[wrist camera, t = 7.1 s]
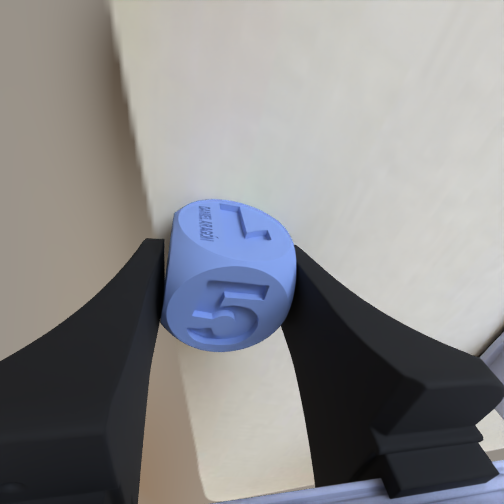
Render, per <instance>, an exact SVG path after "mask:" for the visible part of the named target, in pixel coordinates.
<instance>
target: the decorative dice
mask: <svg viewBox="0 0 504 504" xmlns="http://www.w3.org/2000/svg"><path fill="white" fill-rule="evenodd" d="M295 284H296V254H295V248H294V244H293V241H292V239H291V237H290V235H289V233H288V232H287V230H286V229H285V228H284V226H283V225H282V224H281V223H279V222H278V221H277V220H276V219H274V218H273V217H271V216H270V215H268V214H266V213H264V212H263V211H260V210H258V209H256V208H254V207H251V206H248V205H245V204H241V203H237V202H233V201H227V200H215V199H211V200H200V201H196V202H193V203H190V204H188V205H186V206H184V207H183V208H181V209H180V210H178V211H177V212H175V213H174V218H173V224H172V231H171V238H170V245H169V252H168V260H167V267H166V275H165V285H164V297H163V306H162V311H161V319H160V323H161V324H162V325H163V327H164V328H165V329H166V330H167V331H169V332H170V333H171V334H172V335H173V336H174V337H176V338H177V339H178V340H180V341H182V342H183V343H185V344H187V345H189V346H191V347H194V348H197V349H200V350H205V351H211V352H228V351H235V350H240V349H244V348H247V347H250V346H253V345H255V344H257V343H259V342H261V341H263V340H265V339H266V338H268V337H269V336H270V335H271V334H273V333H274V332H275V331H276V330H277V329H278V328H279V327H280V326H281V325H282V323H283V322H284V321H285V319H286V317H287V315H288V313H289V310H290V307H291V304H292V300H293V296H294V291H295Z"/></svg>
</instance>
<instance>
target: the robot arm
mask: <svg viewBox="0 0 504 504" xmlns="http://www.w3.org/2000/svg"><path fill="white" fill-rule="evenodd" d="M294 248H295V254H296V284H295V291H294V296H293V300H292V304H291V307H290V310H289V313H288V315H287V317H286V319H285V321H284V322H283V323H282V325H281V327H282V330H283V333H284V336H285V339H286V342H287V345H288V348H289V351H290V354H291V357H292V361H293V364H294V368H295V373H296V377H297V382H298V387H299V391H300V396H301V401H302V406H303V411H304V417H305V422H306V428H307V434H308V440H309V446H310V452H311V459H312V466H313V473H314V480H315V488H311V489H304V490H298V491H291V492H285V493H278V494H271V495H264V496H257V497H251V498H244V499H237V500H230V501H224V502H217V503H210V504H504V460H499V461H493V462H491V460H490V459H489V457H488V456H487V455H486V453H485V452H484V450H483V449H482V447H481V446H480V445H479V443H478V442H481V441H482V440H483V436H482V434H481V433H480V431H479V430H478V429H477V427H476V426H475V425H476V424H477V423H478V422H479V421H480V420H482V419H483V418H484V417H485V416H486V415H487V414H489V413H490V412H491V411H492V410H493V409H495V410H496V411H497V412H498V414H499V415H500V416H501V417H502V418H503V420H504V332H503V333H502V334H501V335H500V336H499V337H498V338H497V339H496V340H495V341H494V342H493V343H492V345H491V346H490V347H489V348H488V349H487V350H486V351H485V352H484V353H483V354H482V355H481V356H480V357H479V358H478V357H475V356H473V355H471V354H468V353H466V352H463V351H461V350H458V349H456V348H453V347H451V346H448V345H446V344H443V343H441V342H439V341H437V340H435V339H433V338H430V337H428V336H426V335H424V334H422V333H420V332H418V331H416V330H414V329H412V328H410V327H408V326H406V325H404V324H402V323H401V322H399V321H397V320H395V319H393V318H392V317H390V316H388V315H386V314H385V313H383V312H381V311H380V310H378V309H377V308H375V307H373V306H372V305H370V304H369V303H367V302H366V301H364V300H363V299H361V298H360V297H358V296H357V295H356V294H354V293H353V292H352V291H350V290H349V289H348V288H346V287H345V286H344V285H342V284H341V283H340V282H339V281H337V280H336V279H335V278H334V277H333V276H331V275H330V274H329V273H328V272H327V271H325V270H324V269H323V268H322V267H321V266H320V265H319V264H317V263H316V262H315V261H314V260H313V259H312V258H311V257H310V256H308V255H307V254H306V253H305V252H304V251H303V250H302V249H300V248H299V247H298V246H296V245H294ZM164 285H165V261H164V239H149V238H147V239H145V240H144V241H143V242H142V244H141V245H140V247H139V248H138V250H137V251H136V252H135V253H134V255H133V256H132V257H131V258H130V260H129V261H128V262H127V263H126V264H125V265H124V267H123V268H122V269H121V270H120V271H119V273H117V275H116V276H115V277H114V278H113V279H112V280H111V281H110V282H109V283H108V284H107V285H106V286H105V287H104V288H103V289H102V290H101V291H100V292H99V293H97V294H96V295H95V296H94V297H93V298H92V299H91V300H90V301H89V302H87V303H86V304H85V305H84V306H83V307H81V308H80V309H79V310H78V311H76V312H75V313H74V314H73V315H71V316H70V317H69V318H67V319H66V320H65V321H63V322H62V323H61V324H59V325H58V326H56V327H55V328H54V329H52V330H51V331H49V332H48V333H47V334H45V335H43V336H42V337H40V338H38V339H37V340H35V341H34V342H32V343H31V344H29V345H27V346H26V347H24V348H22V349H21V350H19V351H17V352H16V353H14V354H12V355H10V356H9V357H7V358H5V359H3V360H2V361H0V504H138V494H139V483H140V482H139V481H140V470H141V459H142V448H143V437H144V426H145V416H146V406H147V396H148V385H149V375H150V368H151V363H152V357H153V352H154V347H155V343H156V338H157V333H158V328H159V323H160V318H161V311H162V306H163V297H164Z"/></svg>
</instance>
